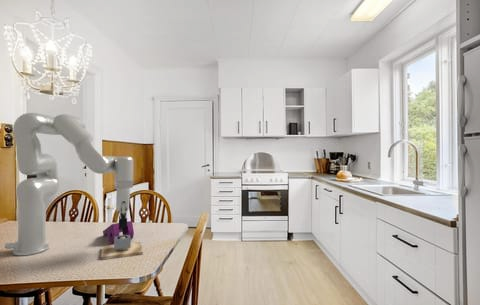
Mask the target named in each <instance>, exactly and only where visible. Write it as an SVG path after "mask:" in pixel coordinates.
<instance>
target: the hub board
mask: <svg viewBox="0 0 480 305" xmlns="http://www.w3.org/2000/svg"><path fill="white" fill-rule="evenodd" d="M124 238H125V237H121V238H120V239H124ZM101 247H102V249H101V255H100V260H101V261H103V260H110V259H118V258H126V257H133V256H141V255H144V251H143V248H142V243H141V241H138V242H131V245H130V248H126V249H117V250H114V244H111V245H110V244H109V245H102V246H101Z"/></svg>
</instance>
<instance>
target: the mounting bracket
mask: <svg viewBox="0 0 480 305" xmlns="http://www.w3.org/2000/svg"><path fill="white" fill-rule="evenodd" d="M134 232H135V231H134V225H133V221H132V220H129V221H128V220H127V227H126V228H119V222H115V223H112V224H110V225H109V226H108V227H107V228H105V229H104V230H103V231H102V234H103V237H107V236H108V237H107V238H108V242H109V243H110V244H111V245H114V236H120V233H122V235H130V238H131V240H132V239H134V235H135V233H134Z"/></svg>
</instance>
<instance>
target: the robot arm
mask: <svg viewBox="0 0 480 305" xmlns="http://www.w3.org/2000/svg"><path fill="white" fill-rule="evenodd" d="M85 128H86V124H85V122H84V121H83V119H81V118H80V117H78V116H74V115H72V114H71V115H70V114H65V113H63V114H57V115H56V116H52V115H46V114H43V113H37V112H26V113H23V114H21V115H20V116H19V117H17V118H16V120H15V122H14V124H13V128H12V130H13V136H14V140H15V147H16V150H15V151H16V156H17V157H16V159H17V167H18V170H19V172H20V173H21V174H22V175H24V176H36V177H30V178H26V179H24V180H22V181H20V182H19V183H18V184H17V187H16V188H15V189H16V190H15V193H16V194H15V195H16V198H17V203H18V204H17V206H18V214H17V217H18V223H17V241H15V242H9V243H8V242H7V243H5V244H4V248H5V249H6V250H9V249H12V255H14V256H29V255H30V256H31V255H36V254H39V253H43V252H45V251H47V250H49V248H50V245H49V243H46V226H47V225H46V223H47V222H46V221H47V207H46V206H47V205H46V204H45V201H44V199H45V198H49V197H53V196H54V195H55V194H57V193H58V190H59V188H60V183H59V182H60V181H59V172H58V165H57V164H58V163H57V161H56V159H55V158H54V157H53V156H52V155H50V154H47V153H42V147H41V146H42V145H41V141H40V139H39V138H38V136H37V134H43V135H50V136H51V135H54V136H55V135H57V136H58V135H60V136H62V137H63V138H64V140H66V141H67V142H68V143H69V144H70V145H71V146H72V147H73V148H74V149H75V152H76V154H77V157H78V159H79V160H80V161H81V162H82V163H83V165H85V166H86V167H87V168H88V169H89V170H90V171H92V172H93V173H95V174H99V175H101V174H110V173H114V185H113V188H114V189H115V190H116V195H115V196H116V198H115V199H116V203H115V204H116V205H115V210H116V212H117V213H118V212H119V215H118V223H119V228H126V227H127V222H128V217H127V216H128V215H127V214H128V211H129V210H130V209H129V207H130V198H131V195H130V194H131V189H133V188H134V187H133V186H134V158H133V157H132V156H113V155H103V154H101V153H100V152H99V151H98V150H96V149H95V147H94V146H93V144H92V141H93V136H92V134H91V133H90V132H89V131H87V130H86V129H85Z"/></svg>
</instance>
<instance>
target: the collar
mask: <svg viewBox="0 0 480 305" xmlns="http://www.w3.org/2000/svg"><path fill="white" fill-rule="evenodd" d="M121 237H125V238H124V239H120V238H121ZM131 241H132V239H131V238H130V235H123V234H122V235H119V236H114V243H113V245H114V250H117V249H126V248H130V245H131V243H132V242H131Z"/></svg>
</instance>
